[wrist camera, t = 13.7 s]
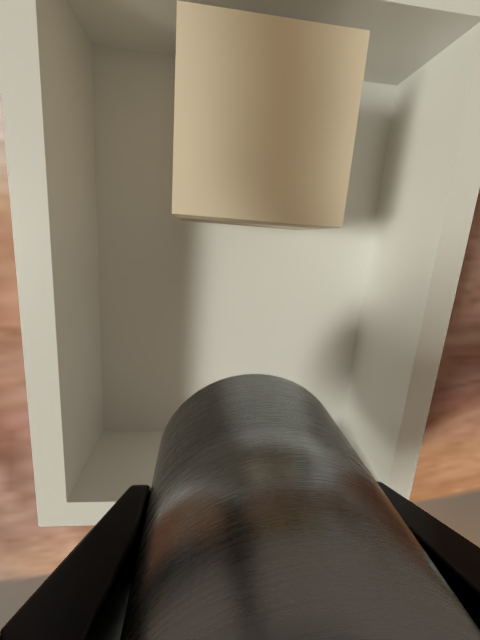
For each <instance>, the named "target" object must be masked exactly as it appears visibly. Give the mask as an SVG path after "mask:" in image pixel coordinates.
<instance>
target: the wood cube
mask: <svg viewBox="0 0 480 640" xmlns="http://www.w3.org/2000/svg"><path fill="white" fill-rule="evenodd" d="M369 36H370V31H369V30H363V29H357V28H350V27H344V26H337V25H331V24H325V23H318V22H312V21H306V20H299V19H293V18H287V17H280V16H274V15H268V14H261V13H255V12H248V11H242V10H236V9H229V8H223V7H217V6H210V5H204V4H198V3H191V2H185V1H179V0H177V18H176V58H175V99H174V139H173V180H172V214H173V215H175V216H176V217H178V218H179V219H181V220H182V221H192V222H204V223H217V224H229V225H242V226H254V227H266V228H279V229H291V230H307V229H327V228H342V226H343V219H344V212H345V205H346V198H347V191H348V184H349V177H350V170H351V163H352V156H353V149H354V142H355V135H356V128H357V121H358V113H359V106H360V99H361V92H362V85H363V78H364V71H365V64H366V57H367V50H368V43H369Z"/></svg>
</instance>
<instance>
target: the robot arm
mask: <svg viewBox="0 0 480 640" xmlns="http://www.w3.org/2000/svg"><path fill="white" fill-rule="evenodd" d="M376 482H377V483H378V484H379V486H380V487H381V489H382V490H383V492H384V493H385V495H386V496H387V497H388V499H389V500H390V502H391V503H392V505H393V506H394V507H395V509H396V510H397V512H398V513H399V515H400V516H401V517H402V519H403V520H404V522H405V523H406V525H407V526H408V527H409V529H410V530H411V532H412V533H413V535H414V536H415V537H416V539H417V540H418V542H419V543H420V545H421V546H422V548H423V549H424V550H425V552H426V553H427V555H428V556H429V558H430V559H431V560H432V562H433V563H434V565H435V566H436V568H437V569H438V570H439V572H440V573H441V575H442V576H443V578H444V579H445V580H446V582H447V583H448V585H449V586H450V588H451V589H452V590H453V592H454V593H455V595H456V596H457V598H458V599H459V601H460V602H461V603H462V605H463V606H464V608H465V609H466V611H467V612H468V613H469V615H470V616H471V618H472V619H473V621H474V622H475V623H476V625H477V626H478V628H479V629H480V548H479V547H478V546H476V545H475V544H473V543H472V542H470V541H469V540H467V539H466V538H464V537H463V536H461V535H460V534H458V533H457V532H455V531H454V530H452V529H451V528H449V527H448V526H446V525H445V524H443V523H442V522H440V521H439V520H437V519H436V518H434V517H433V516H431V515H430V514H428V513H427V512H425V511H424V510H422V509H421V508H419V507H418V506H416V505H415V504H413V503H412V502H410V501H409V500H407V499H406V498H404V497H403V496H401V495H400V494H398V493H397V492H396V491H394V490H393V489H391V488H390V487H388V486H387V485H385V484H384V483H382V482H379V481H376ZM149 495H150V486H149V485H132V486H130V487H129V488H128V489H127V491H126V492H125V493H124V494H123V495H122V496H121V497H120V498H119V499H118V500H117V502H116V503H115V504H114V505H113V506H112V507H111V508H110V509H109V510H108V512H107V513H106V514H105V515H104V516H103V517H102V518H101V519H100V520H99V522H98V523H97V524H96V525H95V526H94V527H93V528H92V529H91V530H90V532H89V533H88V534H87V535H86V536H85V537H84V538H83V539H82V540H81V542H80V543H79V544H78V545H77V546H76V547H75V548H74V549H73V550H72V552H71V553H70V554H69V555H68V556H67V557H66V558H65V559H64V560H63V562H62V563H61V564H60V565H59V566H58V567H57V568H56V569H55V570H54V571H53V573H52V574H51V575H50V576H49V577H48V578H47V579H46V580H45V581H44V583H43V584H42V585H41V586H40V587H39V588H38V589H37V590H36V592H35V593H34V594H33V595H32V596H31V597H30V598H29V599H28V600H27V601H26V603H25V604H24V605H23V606H22V607H21V608H20V609H19V611H17V613H16V614H15V615H14V616H13V617H12V618H11V619H10V620H9V621H8V623H7V624H6V625H5V626H4V627H3V628H2V629H1V631H0V640H120V637H121V632H122V627H123V622H124V617H125V612H126V608H127V603H128V598H129V593H130V588H131V583H132V578H133V573H134V569H135V564H136V559H137V554H138V549H139V544H140V539H141V534H142V530H143V525H144V520H145V515H146V510H147V505H148V500H149Z"/></svg>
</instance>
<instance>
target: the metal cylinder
mask: <svg viewBox="0 0 480 640" xmlns="http://www.w3.org/2000/svg"><path fill="white" fill-rule="evenodd" d="M120 640H480V629H479V628H478V626H477V625H476V623H475V622H474V621H473V619H472V618H471V616H470V615H469V613H468V612H467V611H466V609H465V608H464V606H463V605H462V603H461V602H460V601H459V599H458V598H457V596H456V595H455V593H454V592H453V590H452V589H451V588H450V586H449V585H448V583H447V582H446V580H445V579H444V578H443V576H442V575H441V573H440V572H439V570H438V569H437V568H436V566H435V565H434V563H433V562H432V560H431V559H430V558H429V556H428V555H427V553H426V552H425V550H424V549H423V548H422V546H421V545H420V543H419V542H418V540H417V539H416V537H415V536H414V535H413V533H412V532H411V530H410V529H409V527H408V526H407V525H406V523H405V522H404V520H403V519H402V517H401V516H400V515H399V513H398V512H397V510H396V509H395V507H394V506H393V505H392V503H391V502H390V500H389V499H388V497H387V496H386V495H385V493H384V492H383V490H382V489H381V487H380V486H379V484H378V483H377V482H376V480H375V479H374V477H373V476H372V474H371V473H370V472H369V470H368V469H367V467H366V466H365V464H364V463H363V462H362V460H361V459H360V457H359V456H358V454H357V453H356V452H355V450H354V449H353V447H352V446H351V444H350V443H349V442H348V440H347V439H346V437H345V436H344V434H343V433H342V431H341V430H340V429H339V427H338V426H337V424H336V423H335V421H334V420H333V419H332V417H331V416H330V414H329V413H328V411H327V410H326V409H325V407H324V406H323V405H322V403H321V402H320V401H319V400H318V399H317V398H316V397H315V396H314V395H313V394H312V393H311V392H309V391H308V390H307V389H305V388H304V387H302V386H300V385H298V384H296V383H295V382H293V381H290V380H287V379H284V378H282V377H277V376H273V375H265V374H244V375H237V376H232V377H228V378H225V379H221V380H219V381H216V382H214V383H212V384H209V385H207V386H206V387H204V388H202V389H200V390H199V391H197V392H196V393H195V394H193V395H192V396H191V397H189V398H188V399H187V400H186V401H185V402H184V403H183V404H182V405H181V406H180V407H179V408H178V409H177V411H176V412H175V413H174V414H173V416H172V417H171V419H170V421H169V422H168V424H167V426H166V428H165V430H164V433H163V435H162V439H161V443H160V447H159V452H158V457H157V461H156V466H155V471H154V476H153V481H152V486H151V491H150V495H149V500H148V505H147V510H146V515H145V520H144V525H143V530H142V534H141V539H140V544H139V549H138V554H137V559H136V564H135V569H134V573H133V578H132V583H131V588H130V593H129V598H128V603H127V608H126V612H125V617H124V622H123V627H122V632H121V637H120Z"/></svg>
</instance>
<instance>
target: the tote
mask: <svg viewBox="0 0 480 640" xmlns="http://www.w3.org/2000/svg"><path fill="white" fill-rule="evenodd" d="M179 1H185V2H191V3H198V4H204V5H210V6H217V7H223V8H229V9H236V10H242V11H248V12H255V13H261V14H268V15H274V16H280V17H287V18H293V19H299V20H306V21H312V22H318V23H325V24H331V25H337V26H344V27H350V28H357V29H363V30H369V31H370V36H369V43H368V50H367V57H366V64H365V71H364V78H363V85H362V92H361V99H360V106H359V113H358V121H357V128H356V135H355V142H354V149H353V156H352V163H351V170H350V177H349V184H348V191H347V198H346V205H345V212H344V219H343V226H342V228H327V229H307V230H291V229H279V228H266V227H254V226H242V225H229V224H217V223H204V222H192V221H182V220H181V219H179V218H178V217H176V216H175V215H173V214H172V180H173V139H174V99H175V58H176V18H177V0H0V91H1V102H2V114H3V125H4V137H5V148H6V160H7V171H8V182H9V194H10V205H11V217H12V228H13V240H14V251H15V262H16V274H17V285H18V297H19V308H20V320H21V331H22V342H23V354H24V365H25V377H26V388H27V400H28V411H29V422H30V434H31V445H32V457H33V468H34V479H35V491H36V502H37V514H38V525H39V527H43V526H80V525H96V524H97V523H98V522H99V520H100V519H101V518H102V517H103V516H104V515H105V514H106V513H107V512H108V510H109V509H110V508H111V507H112V506H113V505H114V504H115V503H116V502H117V500H118V499H119V498H120V497H121V496H122V495H123V494H124V493H125V492H126V491H127V489H128V488H129V487H130V486H132V485H149V486H150V491H151V486H152V481H153V476H154V471H155V466H156V461H157V457H158V452H159V447H160V443H161V439H162V435H163V433H164V430H165V428H166V426H167V424H168V422H169V421H170V419H171V417H172V416H173V414H174V413H175V412H176V411H177V409H178V408H179V407H180V406H181V405H182V404H183V403H184V402H185V401H186V400H187V399H188V398H189V397H191V396H192V395H193V394H195V393H196V392H197V391H199V390H200V389H202V388H204V387H206V386H207V385H209V384H212V383H214V382H216V381H219V380H221V379H225V378H228V377H232V376H237V375H244V374H265V375H273V376H277V377H282V378H284V379H287V380H290V381H293V382H295V383H296V384H298V385H300V386H302V387H304V388H305V389H307V390H308V391H309V392H311V393H312V394H313V395H314V396H315V397H316V398H317V399H318V400H319V401H320V402H321V403H322V405H323V406H324V407H325V409H326V410H327V411H328V413H329V414H330V416H331V417H332V419H333V420H334V421H335V423H336V424H337V426H338V427H339V429H340V430H341V431H342V433H343V434H344V436H345V437H346V439H347V440H348V442H349V443H350V444H351V446H352V447H353V449H354V450H355V452H356V453H357V454H358V456H359V457H360V459H361V460H362V462H363V463H364V464H365V466H366V467H367V469H368V470H369V472H370V473H371V474H372V476H373V477H374V479H375V480H376V481H379V482H382V483H384V484H385V485H387V486H388V487H390V488H391V489H393V490H394V491H396V492H397V493H398V494H400V495H401V496H403V497H404V498H406V499H407V500H409V497H410V493H411V489H412V484H413V480H414V475H415V471H416V466H417V462H418V458H419V453H420V449H421V444H422V440H423V436H424V431H425V427H426V422H427V418H428V414H429V409H430V405H431V400H432V396H433V392H434V387H435V383H436V378H437V374H438V369H439V365H440V361H441V356H442V352H443V347H444V343H445V339H446V334H447V330H448V325H449V321H450V317H451V312H452V308H453V303H454V299H455V294H456V290H457V286H458V281H459V277H460V272H461V268H462V264H463V259H464V255H465V250H466V246H467V242H468V237H469V233H470V228H471V224H472V220H473V215H474V211H475V206H476V202H477V197H478V193H479V189H480V0H179Z"/></svg>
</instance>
